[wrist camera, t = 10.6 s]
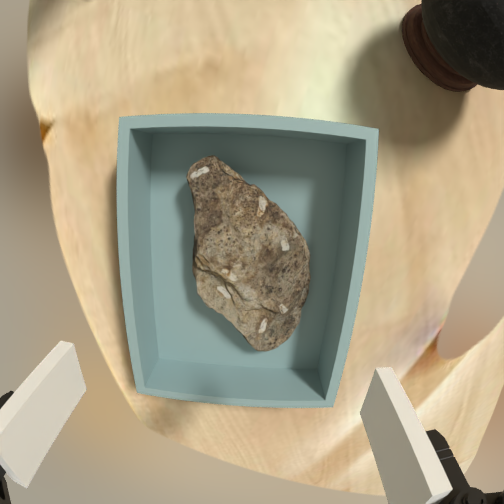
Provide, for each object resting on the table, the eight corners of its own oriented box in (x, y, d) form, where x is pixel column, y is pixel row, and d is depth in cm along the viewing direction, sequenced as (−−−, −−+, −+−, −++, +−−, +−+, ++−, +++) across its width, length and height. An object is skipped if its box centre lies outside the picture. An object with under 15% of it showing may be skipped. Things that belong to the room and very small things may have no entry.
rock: (346, 289, 30) (355, 304, 27) (263, 348, 33) (263, 367, 29) (225, 141, 27) (220, 137, 23) (142, 216, 29) (128, 223, 26)
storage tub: (146, 125, 27) (119, 117, 21) (354, 135, 27) (378, 128, 21) (154, 358, 34) (137, 392, 28) (323, 370, 34) (332, 407, 28)
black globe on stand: (370, 18, 24) (433, -55, 9) (439, -12, 21) (504, -63, 7) (443, 119, 26) (543, 106, 12) (500, 75, 24) (584, 58, 9)
